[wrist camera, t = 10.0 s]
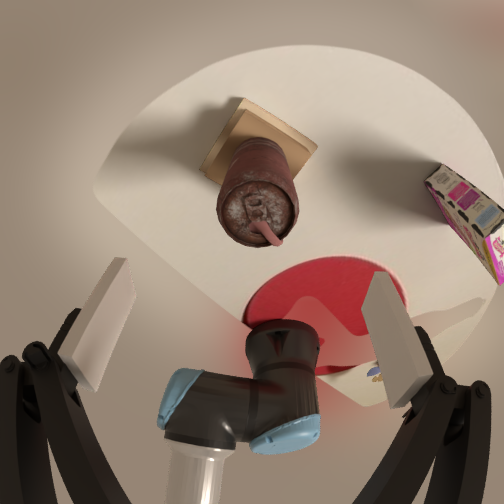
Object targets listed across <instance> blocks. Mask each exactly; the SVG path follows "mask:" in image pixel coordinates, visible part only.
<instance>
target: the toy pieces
mask: <svg viewBox="0 0 504 504" xmlns="http://www.w3.org/2000/svg"><path fill="white" fill-rule="evenodd" d="M380 372H381V371H380V368H379V367H374V368H372V369H370V370H369V372H368V373H367V376H372V375H375V374H378V373H380ZM377 380H378V382H379V381H382V380H383V378H382V375H381V374H380V375H379V377H376V376H375V377H374V378H373V379H372V381H373V382H376V381H377Z"/></svg>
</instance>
